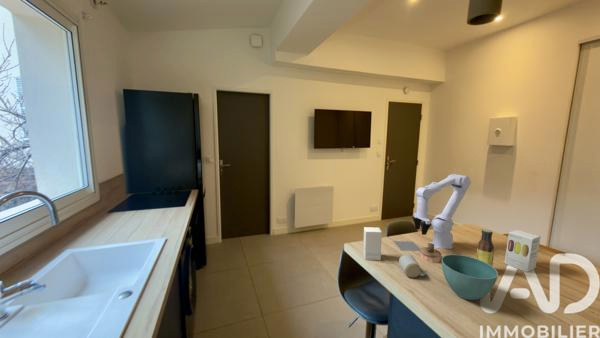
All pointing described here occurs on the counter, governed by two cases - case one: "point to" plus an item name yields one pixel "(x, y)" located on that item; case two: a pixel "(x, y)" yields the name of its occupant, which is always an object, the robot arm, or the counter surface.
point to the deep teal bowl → (468, 276)
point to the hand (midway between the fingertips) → (420, 231)
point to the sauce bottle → (486, 247)
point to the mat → (407, 246)
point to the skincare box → (372, 243)
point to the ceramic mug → (410, 266)
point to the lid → (430, 251)
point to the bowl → (430, 258)
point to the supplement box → (522, 250)
